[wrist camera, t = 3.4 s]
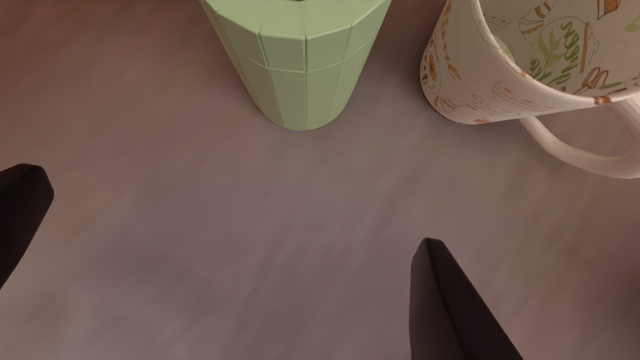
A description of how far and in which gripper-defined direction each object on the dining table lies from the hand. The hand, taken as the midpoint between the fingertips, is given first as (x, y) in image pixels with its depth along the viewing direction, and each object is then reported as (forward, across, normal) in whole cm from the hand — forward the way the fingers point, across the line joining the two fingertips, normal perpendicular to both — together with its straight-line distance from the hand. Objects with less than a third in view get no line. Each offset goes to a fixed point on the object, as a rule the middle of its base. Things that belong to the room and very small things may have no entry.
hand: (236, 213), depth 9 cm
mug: (+15, -11, +4) cm, 19 cm away
